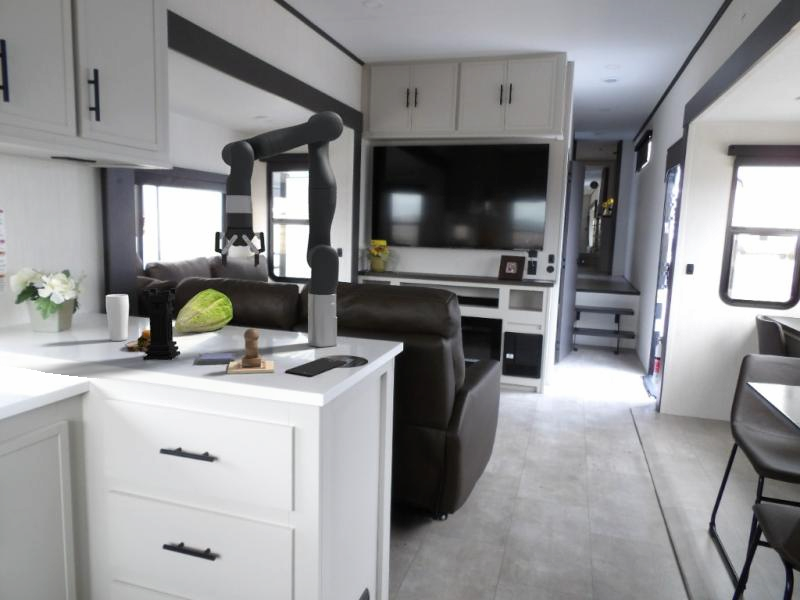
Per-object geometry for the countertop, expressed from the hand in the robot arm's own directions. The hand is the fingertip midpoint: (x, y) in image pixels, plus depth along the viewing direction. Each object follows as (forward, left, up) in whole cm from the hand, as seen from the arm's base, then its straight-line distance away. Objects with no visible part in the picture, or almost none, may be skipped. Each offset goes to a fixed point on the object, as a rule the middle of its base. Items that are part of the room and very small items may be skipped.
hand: (240, 266), depth 164 cm
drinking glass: (+41, -27, -27) cm, 56 cm away
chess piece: (+23, -1, -27) cm, 35 cm away
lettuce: (+16, -42, -27) cm, 52 cm away
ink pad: (+7, +6, -27) cm, 28 cm away
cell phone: (-21, +18, -27) cm, 39 cm away
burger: (+30, -14, -27) cm, 43 cm away
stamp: (-3, +16, -26) cm, 31 cm away
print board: (-3, +16, -27) cm, 32 cm away
